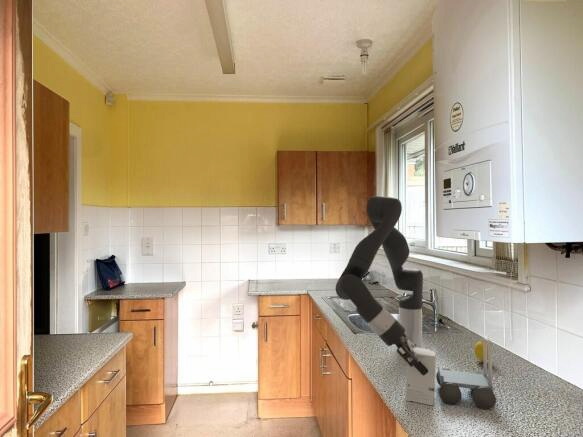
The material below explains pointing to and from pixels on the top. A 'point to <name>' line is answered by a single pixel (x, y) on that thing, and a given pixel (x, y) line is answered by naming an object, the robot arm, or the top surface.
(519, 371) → the top surface
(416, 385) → the skincare box
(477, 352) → the lemon
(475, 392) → the trolley
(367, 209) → the robot arm
